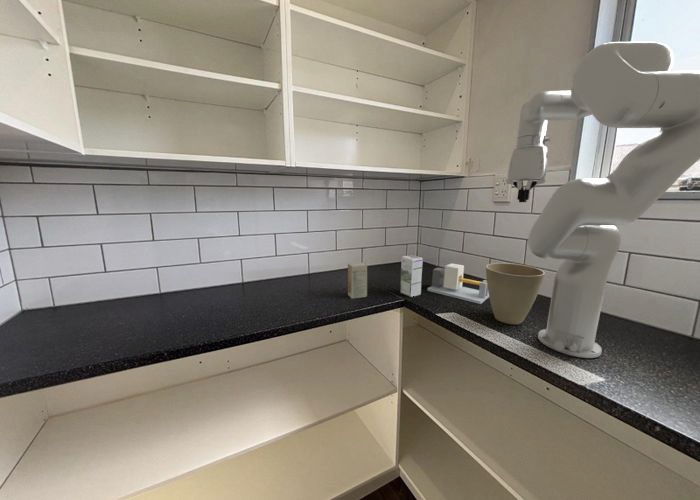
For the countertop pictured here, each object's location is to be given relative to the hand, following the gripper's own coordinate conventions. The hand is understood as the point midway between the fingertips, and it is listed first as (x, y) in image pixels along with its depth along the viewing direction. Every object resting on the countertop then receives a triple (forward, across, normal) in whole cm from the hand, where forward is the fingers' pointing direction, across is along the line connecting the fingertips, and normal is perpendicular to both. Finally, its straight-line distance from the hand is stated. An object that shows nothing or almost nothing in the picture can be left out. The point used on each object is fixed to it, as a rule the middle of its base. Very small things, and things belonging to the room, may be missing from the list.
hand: (522, 202), depth 91 cm
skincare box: (+35, +43, +33) cm, 65 cm away
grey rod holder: (+35, +17, +3) cm, 39 cm away
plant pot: (+35, -3, +16) cm, 39 cm away
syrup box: (+35, +30, +17) cm, 49 cm away
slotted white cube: (+33, +19, +3) cm, 38 cm away
